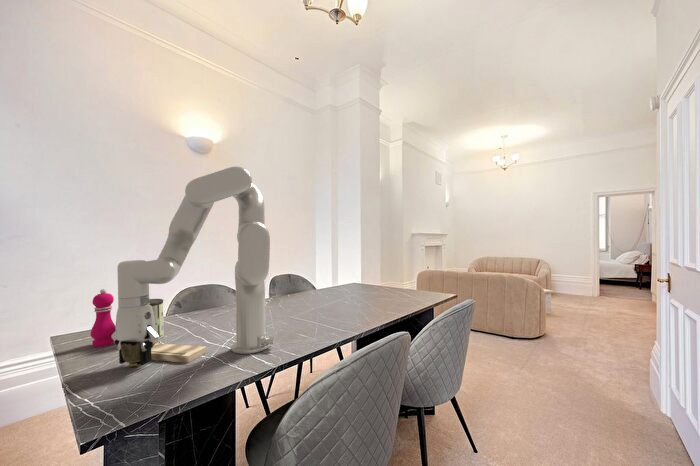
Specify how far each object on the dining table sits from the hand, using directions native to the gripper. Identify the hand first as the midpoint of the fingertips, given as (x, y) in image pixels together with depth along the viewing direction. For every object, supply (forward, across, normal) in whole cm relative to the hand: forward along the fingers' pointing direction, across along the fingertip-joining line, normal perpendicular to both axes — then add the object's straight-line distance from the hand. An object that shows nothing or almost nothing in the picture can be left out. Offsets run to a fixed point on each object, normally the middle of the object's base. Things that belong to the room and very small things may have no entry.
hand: (135, 362), depth 89 cm
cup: (+1, 0, 0) cm, 1 cm away
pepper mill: (+1, +30, -14) cm, 33 cm away
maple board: (+1, -4, -9) cm, 10 cm away
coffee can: (+1, +19, -22) cm, 29 cm away
